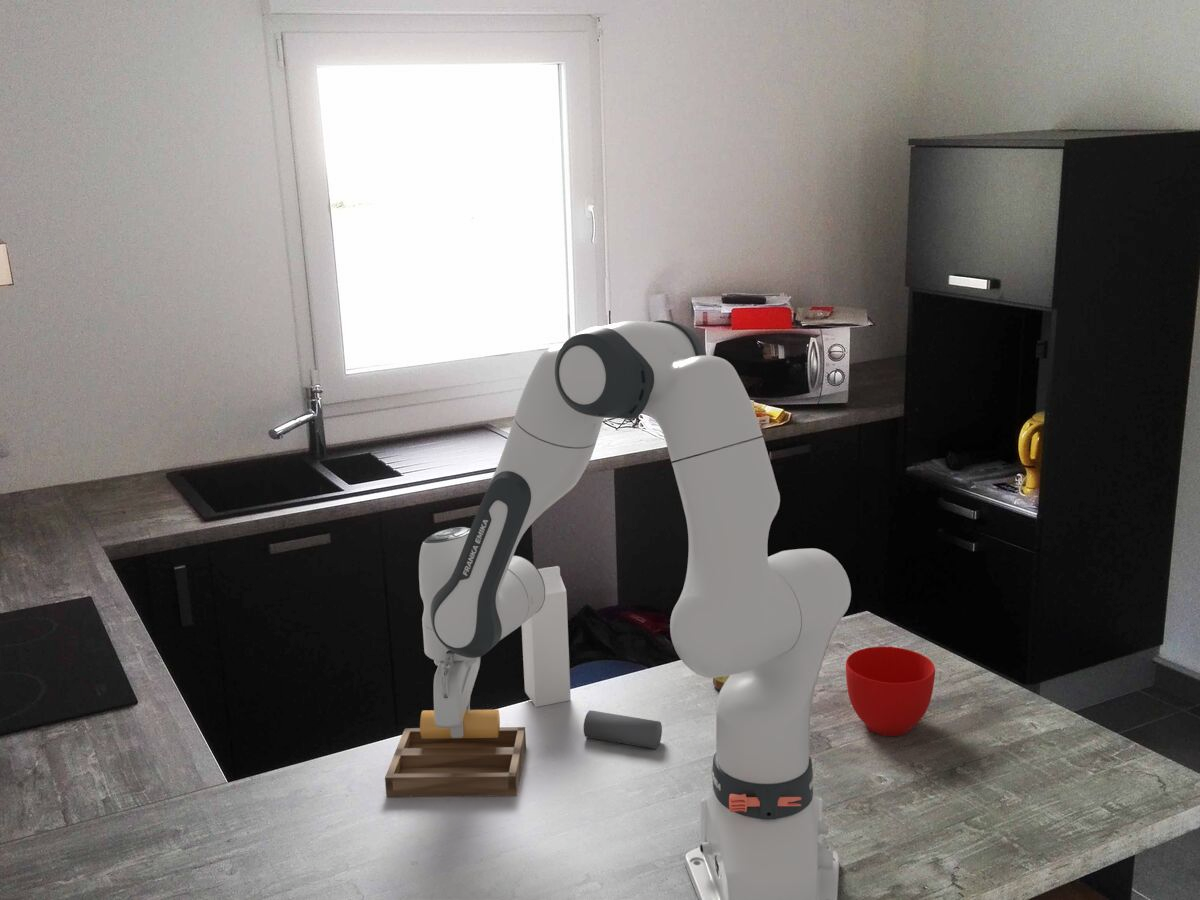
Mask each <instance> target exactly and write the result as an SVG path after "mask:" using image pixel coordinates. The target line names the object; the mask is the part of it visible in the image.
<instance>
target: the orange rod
mask: <svg viewBox="0 0 1200 900" xmlns="http://www.w3.org/2000/svg"><path fill="white" fill-rule="evenodd" d="M500 719H501V717H500V710H499V709H470V710H466V712H465V715H464V718H463V722H464V729H465V731H464V734H463V737H462V738H498V737H499V731H500V727H501V720H500ZM419 728H420V733H421V738H422V739H441V738H453V737H451V731H450V728H438V727H437V726H436V724H435V719H434V709H433V710H432V709H431V710H422V711H421V714H420V721H419Z"/></svg>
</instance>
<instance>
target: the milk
mask: <svg viewBox="0 0 1200 900" xmlns="http://www.w3.org/2000/svg"><path fill="white" fill-rule="evenodd" d="M560 567H561V566H559V565H556V566H551V567H542V568H537V569H538V571H539V572H540V574H541V576H542V578H543V581H544V585H545V600H544V603H543V606H542V608H541V609H540V610H539V611H538V612H537V613H536V614H535V615H534V616H533V617H531V618H530V619H529V620H527V621H526V622H525V623H523V624H522V625H521V636H522V637H521V641H522V643H521V644H522V656H523V657H522V661H523V679H524V693H525V694H526V695H527V697H528V698H529V700H530V701H531V702H532V704H533V705H534V707H535V708H539V707H543V706H549V705H554V704H558V703H559V704H560V703H564V702H568V701H571V700H572V699H571V676H570V675H571V673H570V671H571V670H570V650H569V649H570V648H569V627H568V626H569V624H568V622H569V621H568V599H567V595H568V594H567V589H566V586H565V584H564V582H563V578H562V576H561V568H560Z"/></svg>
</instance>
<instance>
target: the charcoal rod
mask: <svg viewBox="0 0 1200 900" xmlns="http://www.w3.org/2000/svg"><path fill="white" fill-rule="evenodd" d="M662 731H663V726H662V722H661V721H659V720H652V719H645V718H640V717H635V716H628V715H623V714H622V715H621V714H615V713H610V712H604V711H598V710H597V711H596V710H591V709H590V710H588V711H587V713H586V715H585V718H584V721H583V734H584V736H585V738H589V739H595V740H601V741H602V740H603V741H607V742H612V743H613V742H614V743H620V744H625V745H631V746H635V747H641V748H649V749H654V750H656V749H657V748H658V747H659V746H660V744H661V740H662V734H663V732H662Z"/></svg>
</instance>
